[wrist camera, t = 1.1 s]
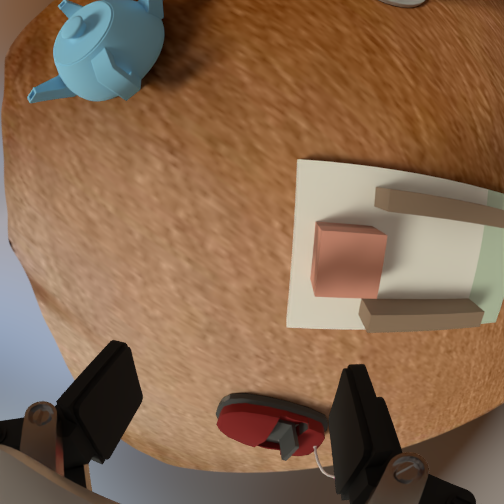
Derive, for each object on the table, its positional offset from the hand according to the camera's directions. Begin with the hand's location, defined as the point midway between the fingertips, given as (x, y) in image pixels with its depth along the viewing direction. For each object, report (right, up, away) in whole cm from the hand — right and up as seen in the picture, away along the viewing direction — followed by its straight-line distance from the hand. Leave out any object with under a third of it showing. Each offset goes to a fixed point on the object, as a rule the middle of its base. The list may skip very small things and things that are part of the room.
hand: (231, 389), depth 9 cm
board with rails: (+21, +5, +19) cm, 29 cm away
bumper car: (+5, -21, +29) cm, 36 cm away
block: (+10, +5, +18) cm, 21 cm away
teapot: (-16, +30, +16) cm, 38 cm away
